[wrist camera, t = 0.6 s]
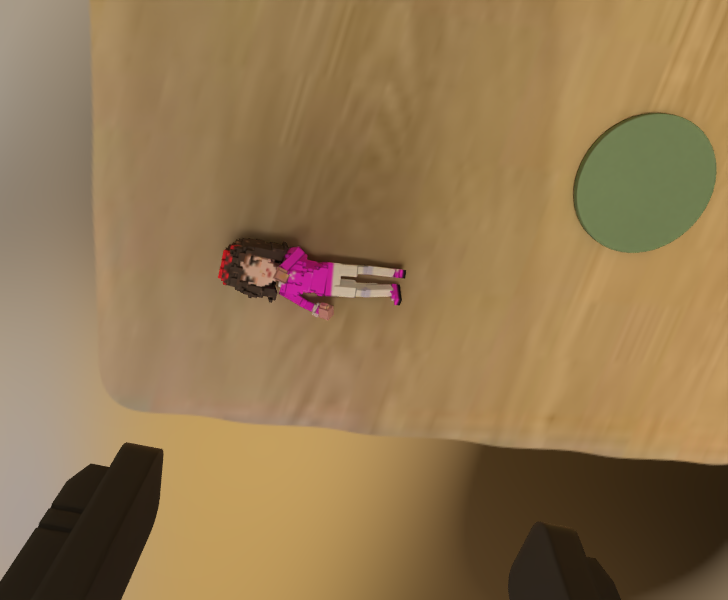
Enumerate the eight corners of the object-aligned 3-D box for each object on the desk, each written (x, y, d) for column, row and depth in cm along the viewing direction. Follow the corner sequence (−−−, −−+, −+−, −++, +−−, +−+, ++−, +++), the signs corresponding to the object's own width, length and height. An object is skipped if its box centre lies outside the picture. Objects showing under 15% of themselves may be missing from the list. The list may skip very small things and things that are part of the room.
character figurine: (402, 238, 39) (224, 218, 36) (419, 266, 34) (217, 245, 32) (388, 312, 41) (219, 298, 39) (402, 347, 37) (212, 333, 34)
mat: (602, 99, 35) (606, 99, 34) (735, 128, 36) (741, 129, 35) (554, 237, 38) (557, 239, 38) (677, 260, 39) (682, 263, 39)
